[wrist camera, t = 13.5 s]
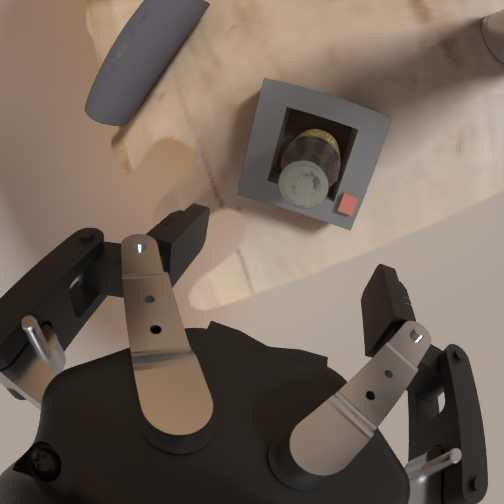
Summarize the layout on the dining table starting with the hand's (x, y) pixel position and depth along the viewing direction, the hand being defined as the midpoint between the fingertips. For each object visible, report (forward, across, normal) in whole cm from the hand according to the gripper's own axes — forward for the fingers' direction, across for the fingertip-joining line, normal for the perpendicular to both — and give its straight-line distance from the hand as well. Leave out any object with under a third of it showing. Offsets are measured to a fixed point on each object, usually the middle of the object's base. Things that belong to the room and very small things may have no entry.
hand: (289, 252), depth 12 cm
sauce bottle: (+30, 0, 0) cm, 30 cm away
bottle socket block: (+30, 0, 0) cm, 30 cm away
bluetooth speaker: (+30, +27, -10) cm, 42 cm away
